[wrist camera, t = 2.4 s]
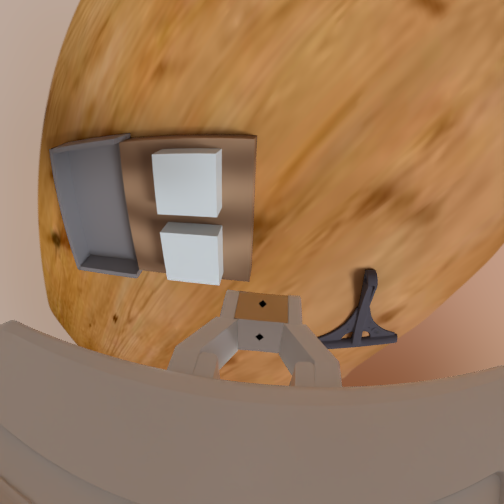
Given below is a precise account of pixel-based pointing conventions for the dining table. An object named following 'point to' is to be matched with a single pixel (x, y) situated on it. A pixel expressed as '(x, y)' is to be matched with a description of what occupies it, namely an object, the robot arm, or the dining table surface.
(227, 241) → the board
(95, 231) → the tray
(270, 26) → the dining table surface
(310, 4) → the dining table surface
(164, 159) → the tile
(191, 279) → the tile
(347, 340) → the bracket
